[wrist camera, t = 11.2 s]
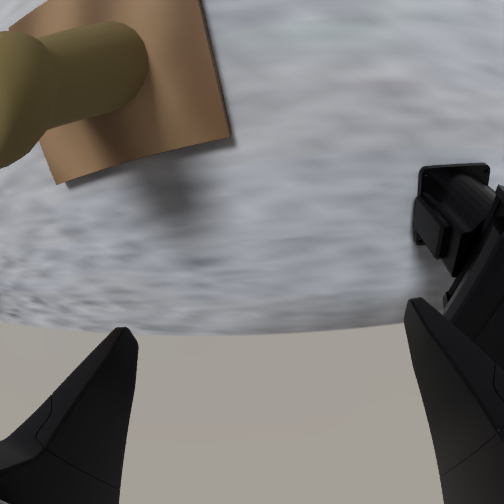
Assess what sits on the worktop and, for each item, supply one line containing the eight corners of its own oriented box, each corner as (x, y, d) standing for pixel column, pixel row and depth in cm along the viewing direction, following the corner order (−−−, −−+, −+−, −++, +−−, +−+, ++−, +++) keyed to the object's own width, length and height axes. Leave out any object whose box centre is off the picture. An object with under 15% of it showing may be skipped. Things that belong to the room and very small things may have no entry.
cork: (169, 62, 15) (56, 91, 6) (104, 132, 17) (-11, 227, 8) (104, 2, 12) (-37, -5, 3) (47, 76, 14) (-87, 133, 6)
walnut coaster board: (187, -55, 11) (183, -60, 10) (230, 133, 18) (229, 137, 17) (17, 27, 12) (8, 28, 12) (63, 179, 20) (56, 185, 19)
